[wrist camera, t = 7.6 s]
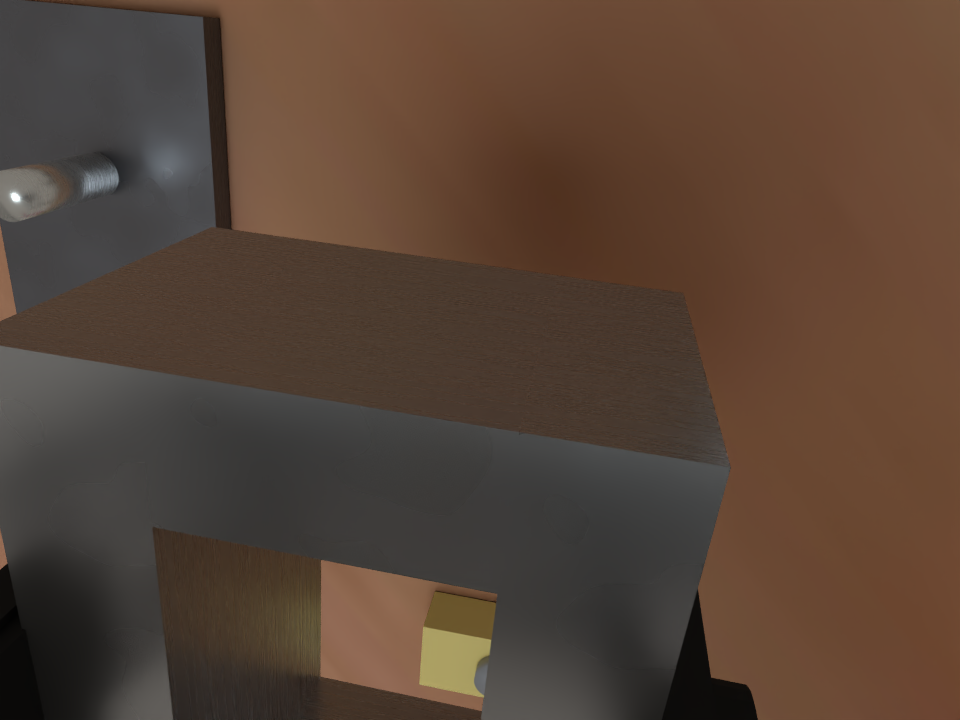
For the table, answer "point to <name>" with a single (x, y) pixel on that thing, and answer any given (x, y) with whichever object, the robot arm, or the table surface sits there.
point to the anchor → (457, 644)
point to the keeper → (105, 140)
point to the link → (350, 478)
